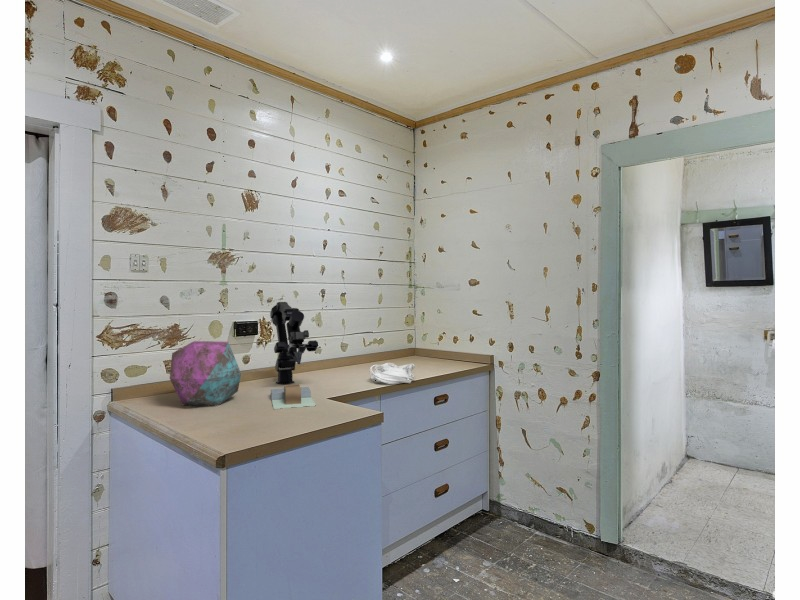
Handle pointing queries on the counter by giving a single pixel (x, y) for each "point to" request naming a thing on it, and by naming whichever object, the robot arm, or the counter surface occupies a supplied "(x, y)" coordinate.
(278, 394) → the plate
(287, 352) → the robot arm
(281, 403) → the mat
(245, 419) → the counter surface
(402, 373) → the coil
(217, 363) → the decorative object
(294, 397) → the block
